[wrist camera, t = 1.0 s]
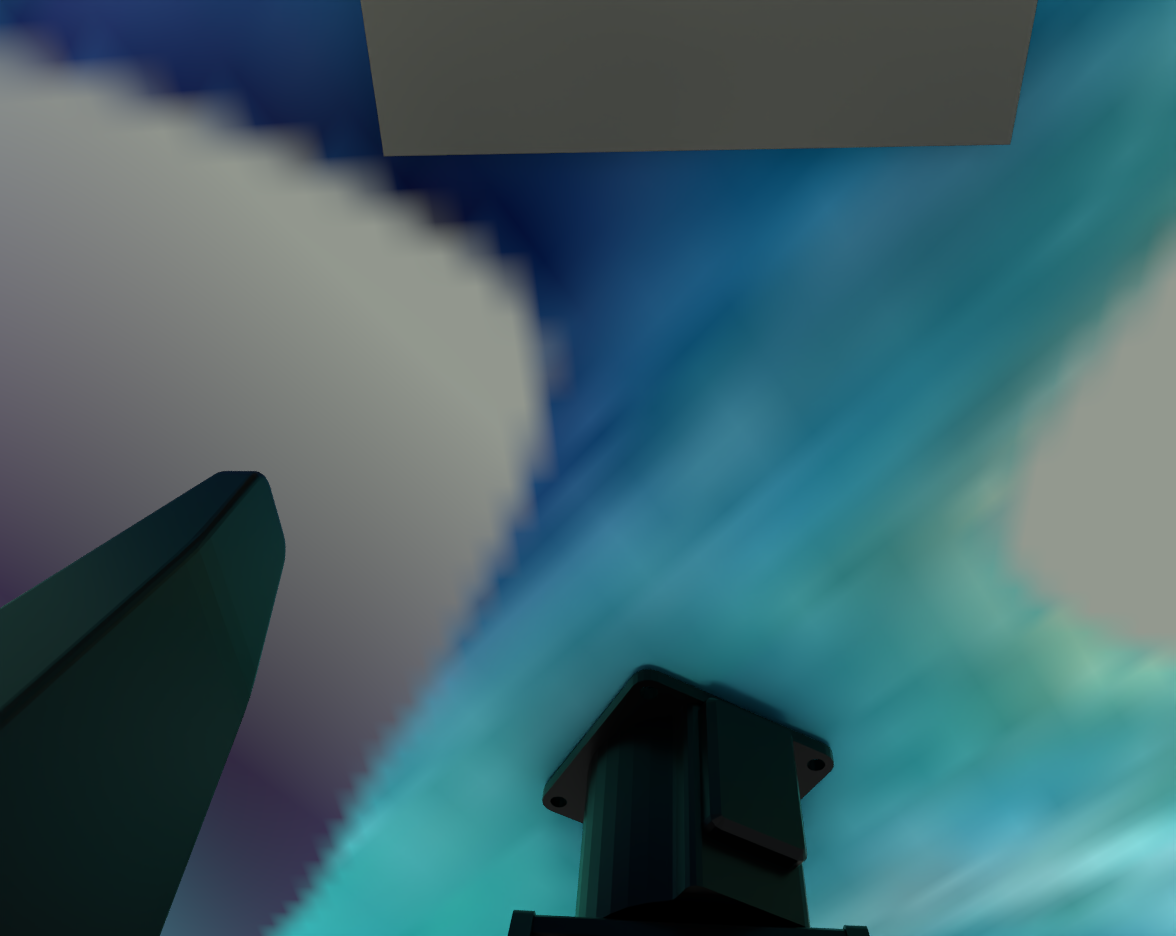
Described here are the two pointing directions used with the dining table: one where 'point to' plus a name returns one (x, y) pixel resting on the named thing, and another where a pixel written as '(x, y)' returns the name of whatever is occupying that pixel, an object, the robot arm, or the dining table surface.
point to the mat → (693, 74)
